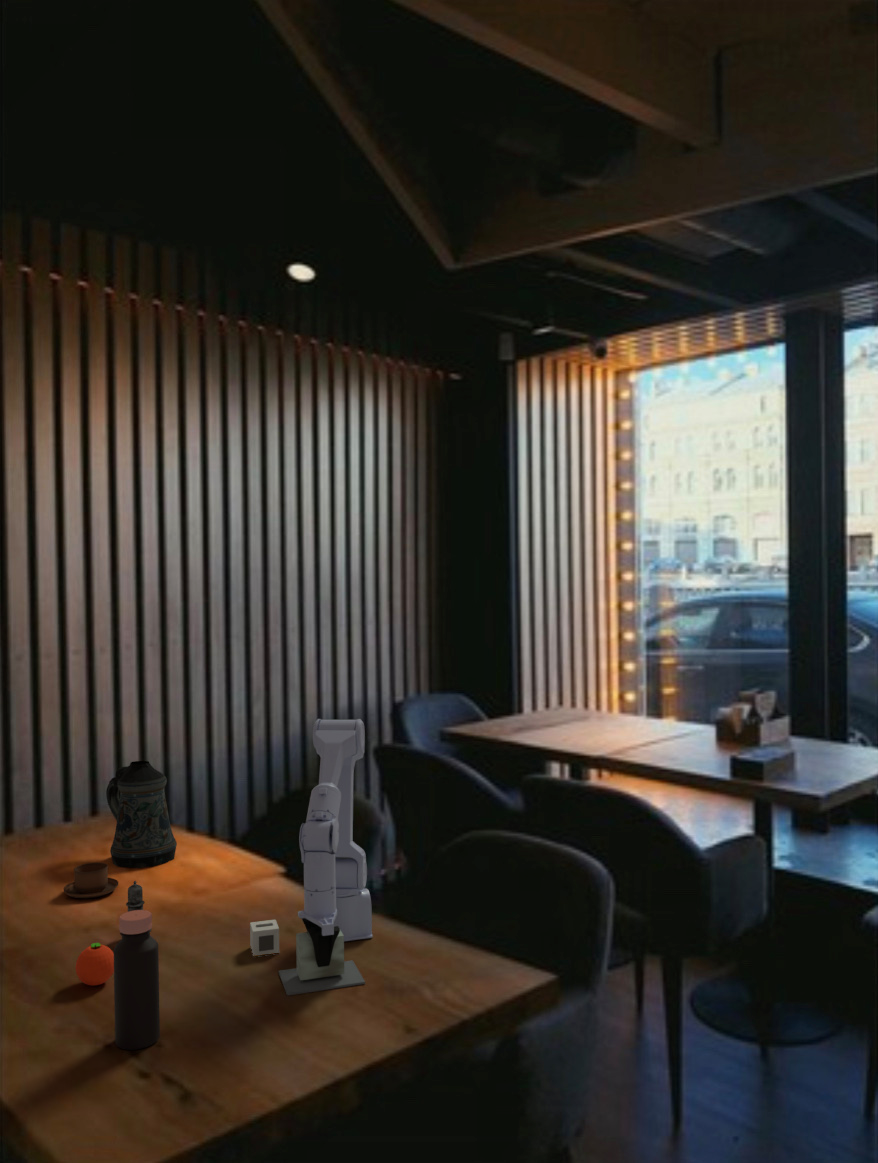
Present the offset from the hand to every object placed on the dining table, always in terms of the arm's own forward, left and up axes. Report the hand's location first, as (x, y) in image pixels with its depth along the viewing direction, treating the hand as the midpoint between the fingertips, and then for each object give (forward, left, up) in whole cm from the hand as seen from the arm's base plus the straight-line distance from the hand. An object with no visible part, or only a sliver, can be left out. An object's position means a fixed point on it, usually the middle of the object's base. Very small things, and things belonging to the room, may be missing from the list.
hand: (320, 960), depth 174 cm
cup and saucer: (+42, -64, -4) cm, 76 cm away
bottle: (+32, +13, -3) cm, 35 cm away
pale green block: (0, 0, -2) cm, 2 cm away
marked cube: (+8, -16, -3) cm, 19 cm away
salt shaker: (+32, -31, -3) cm, 45 cm away
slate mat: (0, 0, -3) cm, 3 cm away
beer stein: (+31, -88, -3) cm, 93 cm away
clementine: (+39, -12, -3) cm, 41 cm away
